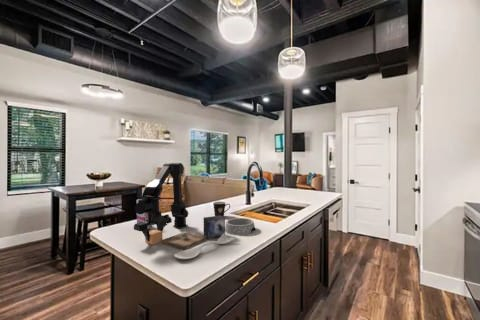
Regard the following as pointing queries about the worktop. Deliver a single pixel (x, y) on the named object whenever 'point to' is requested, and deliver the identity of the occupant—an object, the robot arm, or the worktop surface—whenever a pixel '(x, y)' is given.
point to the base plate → (184, 240)
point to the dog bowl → (239, 226)
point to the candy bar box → (142, 217)
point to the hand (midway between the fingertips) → (153, 239)
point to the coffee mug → (220, 208)
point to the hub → (154, 237)
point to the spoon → (195, 251)
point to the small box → (214, 227)
